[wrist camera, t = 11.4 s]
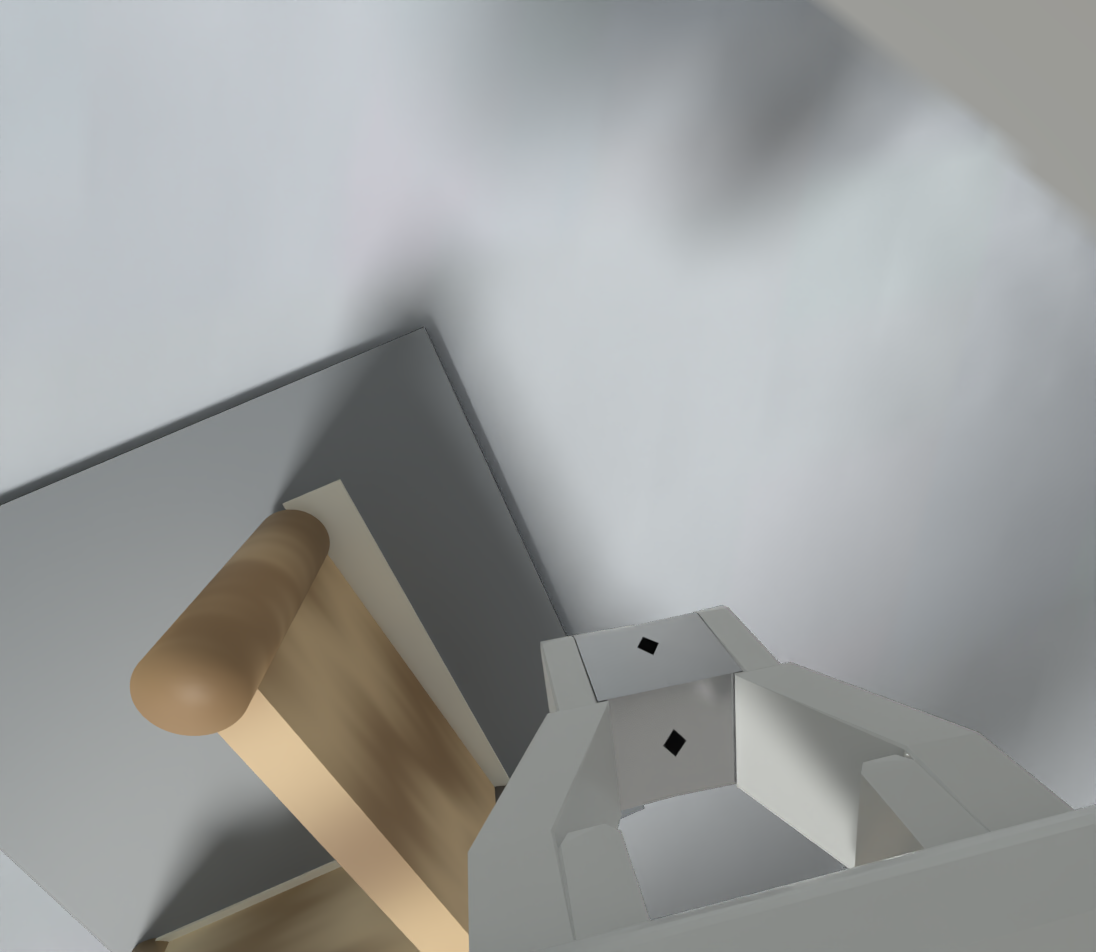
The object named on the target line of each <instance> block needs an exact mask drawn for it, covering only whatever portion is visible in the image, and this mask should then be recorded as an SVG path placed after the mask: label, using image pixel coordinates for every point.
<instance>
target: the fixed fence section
mask: <svg viewBox="0 0 1096 952" xmlns="http://www.w3.org/2000/svg"><path fill="white" fill-rule="evenodd" d="M505 787H506V786H496V787H495V800H496V802H497V800H498V799H499V797H500V795H501V793H502V792H503V790H504V788H505ZM155 940H156V938H153V939H149V940H146V941H143V942H141V943H140V944H138V945H137V946H136V947H135V948H134V949H133V950H132V952H420V951H419V950H418V948H417V947H416V946H415V945H414V944H413V943H412V942H411V941H410V940H409V939H408V938H407V937H406V936H405V934H404V933H403V932H402V931H401V930H400V929H399V928H398V927H397V926H396V925H395V924H394V923H393V922H392V920H391V919H390V918H389V917H388V916H387V915H386V914H385V913H384V912H383V911H382V910H381V909H380V907H379V906H378V905H377V904H376V903H375V902H374V901H373V900H372V899H371V898H370V897H369V896H368V895H367V893H366V892H365V891H364V890H363V889H362V888H361V887H360V886H359V885H358V884H357V883H356V882H355V881H354V879H353V878H352V877H351V876H350V875H349V874H348V873H347V872H346V871H345V870H344V869H343V868H342V867H339V868H337V869H335V870H332V871H330V872H328V873H325V874H323V875H321V876H319V877H316V878H314V879H312V880H309V881H307V882H305V883H303V884H300V885H298V886H296V887H293V888H291V889H289V890H286V891H284V892H282V893H280V894H277V895H275V896H273V897H270V898H268V899H266V900H264V901H261V902H259V903H257V904H254V905H252V906H250V907H248V908H245V909H243V910H241V911H238V912H236V913H234V914H232V915H229V916H227V917H225V918H222V919H220V920H218V921H216V922H213V923H211V924H209V925H206V926H204V927H202V928H200V929H197V930H195V931H193V932H190V933H188V934H186V935H184V936H181V937H179V938H177V939H174V940H172V941H170V942H168V941H155Z"/></svg>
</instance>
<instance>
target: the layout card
mask: <svg viewBox="0 0 1096 952" xmlns="http://www.w3.org/2000/svg"><path fill="white" fill-rule="evenodd" d="M282 510H300V511H304V512H307V513H309V514H311V515H313V516H314V517H316V518H317V519H318V520H319V521H320V522H321V523H322V524H323V525H324V526H325V528H326V530H327V532H328V535H329V539H330V547H329V551H328V555H329V557H330V558H331V560H332V561H333V562H334V564H335V565H336V567H337V568H338V569H339V571H340V572H341V573H342V575H343V576H344V578H345V579H346V580H347V582H348V583H349V585H350V586H351V587H352V589H353V590H354V592H355V593H356V594H357V596H358V597H359V599H360V600H361V601H362V603H363V604H364V606H365V607H366V608H367V610H368V611H369V613H370V614H371V615H372V617H373V618H374V620H375V621H376V622H377V624H378V625H379V627H380V628H381V629H382V631H383V632H384V633H385V635H386V636H387V638H388V639H389V640H390V642H391V643H392V645H393V646H394V647H395V649H396V650H397V652H398V653H399V654H400V656H401V657H402V659H403V660H404V661H405V663H406V664H407V666H408V667H409V668H410V670H411V671H412V673H413V674H414V675H415V677H416V678H417V680H418V681H419V682H420V684H421V685H422V687H423V688H424V689H425V691H426V692H427V694H428V695H429V696H430V698H431V699H432V700H433V702H434V703H435V705H436V706H437V707H438V709H439V710H440V712H441V713H442V714H443V716H444V717H445V719H446V720H447V721H448V723H449V724H450V726H451V727H452V728H453V730H454V731H455V733H456V734H457V735H458V737H459V738H460V740H461V741H462V742H463V744H464V745H465V747H466V748H467V749H468V751H469V752H470V754H471V755H472V756H473V758H474V759H475V761H476V762H477V763H478V765H479V766H480V767H481V769H482V770H483V772H484V773H485V774H486V776H487V777H488V779H489V780H490V781H491V783H492V784H493V786H494V787H496V786H506V785H507V783H508V781H509V780H510V778H511V776H512V774H513V773H514V771H515V769H516V767H517V766H518V764H519V762H520V760H521V759H522V757H523V755H524V753H525V752H526V750H527V748H528V746H529V745H530V743H531V741H532V739H533V738H534V736H535V734H536V732H537V731H538V729H539V727H540V726H541V724H542V722H543V720H544V719H545V717H546V715H547V714H548V713H550V712H549V706H548V699H547V692H546V685H545V678H544V671H543V664H542V657H541V650H540V642H541V641H546V640H551V639H556V638H561V637H566V634H565V632H564V630H563V628H562V625H561V623H560V621H559V619H558V617H557V614H556V612H555V610H554V608H553V606H552V604H551V601H550V599H549V597H548V595H547V593H546V590H545V588H544V586H543V584H542V582H541V580H540V577H539V575H538V573H537V571H536V569H535V566H534V564H533V562H532V560H531V558H530V556H529V553H528V551H527V549H526V547H525V545H524V542H523V540H522V538H521V536H520V534H519V532H518V529H517V527H516V525H515V523H514V521H513V518H512V516H511V514H510V512H509V510H508V508H507V505H506V503H505V501H504V499H503V497H502V494H501V492H500V490H499V488H498V486H497V484H496V481H495V479H494V477H493V475H492V473H491V470H490V468H489V466H488V464H487V462H486V460H485V457H484V455H483V453H482V451H481V449H480V446H479V444H478V442H477V440H476V438H475V436H474V433H473V431H472V429H471V427H470V425H469V422H468V420H467V418H466V416H465V414H464V412H463V409H462V407H461V405H460V403H459V401H458V398H457V396H456V394H455V392H454V390H453V388H452V385H451V383H450V381H449V379H448V377H447V374H446V372H445V370H444V368H443V366H442V364H441V361H440V359H439V357H438V355H437V353H436V350H435V348H434V346H433V344H432V342H431V340H430V337H429V335H428V333H427V331H426V329H425V327H423V328H421V329H418V330H416V331H414V332H411V333H409V334H406V335H404V336H402V337H399V338H397V339H395V340H392V341H390V342H387V343H385V344H383V345H380V346H378V347H376V348H373V349H371V350H368V351H366V352H364V353H361V354H359V355H357V356H354V357H352V358H349V359H347V360H345V361H342V362H340V363H337V364H335V365H333V366H330V367H328V368H326V369H323V370H321V371H318V372H316V373H314V374H311V375H309V376H307V377H304V378H302V379H299V380H297V381H295V382H292V383H290V384H288V385H285V386H283V387H280V388H278V389H276V390H273V391H271V392H269V393H266V394H264V395H261V396H259V397H257V398H254V399H252V400H250V401H247V402H245V403H242V404H240V405H238V406H235V407H233V408H231V409H228V410H226V411H223V412H221V413H219V414H216V415H214V416H212V417H209V418H207V419H204V420H202V421H200V422H197V423H195V424H192V425H190V426H188V427H185V428H183V429H181V430H178V431H176V432H173V433H171V434H169V435H166V436H164V437H162V438H159V439H157V440H154V441H152V442H150V443H147V444H145V445H143V446H140V447H138V448H135V449H133V450H131V451H128V452H126V453H124V454H121V455H119V456H116V457H114V458H112V459H109V460H107V461H105V462H102V463H100V464H97V465H95V466H93V467H90V468H88V469H86V470H83V471H81V472H78V473H76V474H74V475H71V476H69V477H67V478H64V479H62V480H59V481H57V482H55V483H52V484H50V485H47V486H45V487H43V488H40V489H38V490H36V491H33V492H31V493H28V494H26V495H24V496H21V497H19V498H17V499H14V500H12V501H9V502H7V503H5V504H2V505H0V850H1V851H2V852H3V853H4V854H5V855H7V856H8V857H9V858H10V859H11V860H12V861H13V862H14V863H15V864H16V865H17V866H18V867H20V868H21V869H22V870H23V871H24V872H25V873H26V874H27V875H28V876H29V877H30V878H31V879H32V880H34V881H35V882H36V883H37V884H38V885H39V886H40V887H41V888H42V889H43V890H44V891H45V892H47V893H48V894H49V895H50V896H51V897H52V898H53V899H54V900H55V901H56V902H57V903H58V904H60V905H61V906H62V907H63V908H64V909H65V910H66V911H67V912H68V913H69V914H70V915H71V916H72V917H74V918H75V919H76V920H77V921H78V922H79V923H80V924H81V925H82V926H83V927H84V928H85V929H87V930H88V931H89V932H90V933H91V934H92V935H93V936H94V937H95V938H96V939H97V940H98V941H99V942H101V943H102V944H103V945H104V946H105V947H106V948H107V949H108V950H109V951H110V952H132V950H133V949H134V948H135V947H136V946H137V945H138V944H140V943H141V942H143V941H146V940H149V939H153V938H156V940H155V941H168V942H170V941H172V940H174V939H177V938H179V937H181V936H184V935H186V934H188V933H190V932H193V931H195V930H197V929H200V928H202V927H204V926H206V925H209V924H211V923H213V922H216V921H218V920H220V919H222V918H225V917H227V916H229V915H232V914H234V913H236V912H238V911H241V910H243V909H245V908H248V907H250V906H252V905H254V904H257V903H259V902H261V901H264V900H266V899H268V898H270V897H273V896H275V895H277V894H280V893H282V892H284V891H286V890H289V889H291V888H293V887H296V886H298V885H300V884H303V883H305V882H307V881H309V880H312V879H314V878H316V877H319V876H321V875H323V874H325V873H328V872H330V871H332V870H335V869H337V868H339V867H341V865H340V864H339V863H338V862H337V861H336V860H335V859H334V858H333V857H332V856H331V855H330V854H329V852H328V851H327V850H326V849H325V848H324V847H323V846H322V845H321V844H320V843H319V842H318V841H317V840H316V838H315V837H314V836H313V835H312V834H311V833H310V832H309V831H308V830H307V829H306V828H305V827H304V826H303V824H302V823H301V822H300V821H299V820H298V819H297V818H296V817H295V816H294V815H293V814H292V813H291V811H290V810H289V809H288V808H287V807H286V806H285V805H284V804H283V803H282V802H281V801H280V800H279V799H278V797H277V796H276V795H275V794H274V793H273V792H272V791H271V790H270V789H269V788H268V787H267V786H266V785H265V783H264V782H263V781H262V780H261V779H260V778H259V777H258V776H257V775H256V774H255V773H254V772H253V771H252V769H251V768H250V767H249V766H248V765H247V764H246V763H245V762H244V761H243V760H242V759H241V758H240V756H239V755H238V754H237V753H236V752H235V751H234V750H233V749H232V748H231V747H230V746H229V745H228V744H227V742H226V741H225V740H224V739H223V738H222V737H221V736H220V735H219V734H218V733H214V734H209V735H202V736H186V735H179V734H174V733H171V732H168V731H165V730H163V729H161V728H159V727H157V726H155V725H153V724H152V723H151V722H149V721H148V720H147V719H146V718H144V717H143V716H142V715H141V713H140V712H139V711H138V710H137V708H136V707H135V705H134V703H133V701H132V698H131V694H130V679H131V675H132V673H133V671H134V669H135V667H136V666H137V664H138V663H139V662H140V661H141V659H142V658H143V657H144V656H145V655H146V654H147V653H148V651H149V650H150V649H151V648H152V647H153V646H154V645H155V644H156V642H157V641H158V640H159V639H160V638H161V637H162V636H163V634H164V633H165V632H166V631H167V630H168V629H169V628H170V627H171V625H172V624H173V623H174V622H175V621H176V620H177V619H178V617H179V616H180V615H181V614H182V613H183V612H184V611H185V610H186V608H187V607H188V606H189V605H190V604H191V603H192V602H193V600H194V599H195V598H196V597H197V596H198V595H199V594H200V593H201V591H202V590H203V589H204V588H205V587H206V586H207V585H208V583H209V582H210V581H211V580H212V579H213V578H214V577H215V576H216V574H217V573H218V572H219V571H220V570H221V569H222V568H223V566H224V565H225V564H226V563H227V562H228V561H229V560H230V559H231V557H232V556H233V555H234V554H235V553H236V552H237V551H238V549H239V548H240V547H241V546H242V545H243V544H244V543H245V542H246V540H247V539H248V538H249V537H250V536H251V535H252V534H253V532H254V531H255V530H256V529H257V528H258V527H259V526H260V525H261V523H262V522H263V521H264V520H265V519H266V518H267V517H269V516H270V515H272V514H273V513H276V512H278V511H282ZM642 809H644V805H641V806H637V807H633V808H630V809H626V810H622V811H621V818H624V817H626V816H628V815H631V814H633V813H635V812H637V811H640V810H642ZM621 818H620V819H621Z"/></svg>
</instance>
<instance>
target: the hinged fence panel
mask: <svg viewBox="0 0 1096 952" xmlns="http://www.w3.org/2000/svg"><path fill="white" fill-rule="evenodd" d="M329 547H330V539H329V535H328V532H327V530H326V528H325V526H324V525H323V524H322V523H321V522H320V521H319V520H318V519H317V518H316V517H314V516H313V515H311V514H309V513H307V512H304V511H300V510H282V511H278V512H276V513H273V514H272V515H270V516H269V517H267V518H266V519H265V520H264V521H263V522H262V523H261V525H260V526H259V527H258V528H257V529H256V530H255V531H254V532H253V534H252V535H251V536H250V537H249V538H248V539H247V540H246V542H245V543H244V544H243V545H242V546H241V547H240V548H239V549H238V551H237V552H236V553H235V554H234V555H233V556H232V557H231V559H230V560H229V561H228V562H227V563H226V564H225V565H224V566H223V568H222V569H221V570H220V571H219V572H218V573H217V574H216V576H215V577H214V578H213V579H212V580H211V581H210V582H209V583H208V585H207V586H206V587H205V588H204V589H203V590H202V591H201V593H200V594H199V595H198V596H197V597H196V598H195V599H194V600H193V602H192V603H191V604H190V605H189V606H188V607H187V608H186V610H185V611H184V612H183V613H182V614H181V615H180V616H179V617H178V619H177V620H176V621H175V622H174V623H173V624H172V625H171V627H170V628H169V629H168V630H167V631H166V632H165V633H164V634H163V636H162V637H161V638H160V639H159V640H158V641H157V642H156V644H155V645H154V646H153V647H152V648H151V649H150V650H149V651H148V653H147V654H146V655H145V656H144V657H143V658H142V659H141V661H140V662H139V663H138V664H137V666H136V667H135V669H134V671H133V673H132V675H131V679H130V694H131V698H132V701H133V703H134V705H135V707H136V708H137V710H138V711H139V712H140V713H141V715H142V716H143V717H144V718H146V719H147V720H148V721H149V722H151V723H152V724H153V725H155V726H157V727H159V728H161V729H163V730H165V731H168V732H171V733H174V734H179V735H186V736H202V735H209V734H214V733H218V734H219V735H220V736H221V737H222V738H223V739H224V740H225V741H226V742H227V744H228V745H229V746H230V747H231V748H232V749H233V750H234V751H235V752H236V753H237V754H238V755H239V756H240V758H241V759H242V760H243V761H244V762H245V763H246V764H247V765H248V766H249V767H250V768H251V769H252V771H253V772H254V773H255V774H256V775H257V776H258V777H259V778H260V779H261V780H262V781H263V782H264V783H265V785H266V786H267V787H268V788H269V789H270V790H271V791H272V792H273V793H274V794H275V795H276V796H277V797H278V799H279V800H280V801H281V802H282V803H283V804H284V805H285V806H286V807H287V808H288V809H289V810H290V811H291V813H292V814H293V815H294V816H295V817H296V818H297V819H298V820H299V821H300V822H301V823H302V824H303V826H304V827H305V828H306V829H307V830H308V831H309V832H310V833H311V834H312V835H313V836H314V837H315V838H316V840H317V841H318V842H319V843H320V844H321V845H322V846H323V847H324V848H325V849H326V850H327V851H328V852H329V854H330V855H331V856H332V857H333V858H334V859H335V860H336V861H337V862H338V863H339V864H340V865H341V867H342V868H343V869H344V870H345V871H346V872H347V873H348V874H349V875H350V876H351V877H352V878H353V879H354V881H355V882H356V883H357V884H358V885H359V886H360V887H361V888H362V889H363V890H364V891H365V892H366V893H367V895H368V896H369V897H370V898H371V899H372V900H373V901H374V902H375V903H376V904H377V905H378V906H379V907H380V909H381V910H382V911H383V912H384V913H385V914H386V915H387V916H388V917H389V918H390V919H391V920H392V922H393V923H394V924H395V925H396V926H397V927H398V928H399V929H400V930H401V931H402V932H403V933H404V934H405V936H406V937H407V938H408V939H409V940H410V941H411V942H412V943H413V944H414V945H415V946H416V947H417V948H418V950H419V951H420V952H469V913H468V851H469V849H470V848H471V846H472V844H473V842H474V841H475V839H476V837H477V835H478V834H479V832H480V830H481V828H482V827H483V825H484V823H485V821H486V820H487V818H488V816H489V814H490V813H491V811H492V809H493V807H494V806H495V804H496V800H495V787H494V786H493V784H492V783H491V781H490V780H489V779H488V777H487V776H486V774H485V773H484V772H483V770H482V769H481V767H480V766H479V765H478V763H477V762H476V761H475V759H474V758H473V756H472V755H471V754H470V752H469V751H468V749H467V748H466V747H465V745H464V744H463V742H462V741H461V740H460V738H459V737H458V735H457V734H456V733H455V731H454V730H453V728H452V727H451V726H450V724H449V723H448V721H447V720H446V719H445V717H444V716H443V714H442V713H441V712H440V710H439V709H438V707H437V706H436V705H435V703H434V702H433V700H432V699H431V698H430V696H429V695H428V694H427V692H426V691H425V689H424V688H423V687H422V685H421V684H420V682H419V681H418V680H417V678H416V677H415V675H414V674H413V673H412V671H411V670H410V668H409V667H408V666H407V664H406V663H405V661H404V660H403V659H402V657H401V656H400V654H399V653H398V652H397V650H396V649H395V647H394V646H393V645H392V643H391V642H390V640H389V639H388V638H387V636H386V635H385V633H384V632H383V631H382V629H381V628H380V627H379V625H378V624H377V622H376V621H375V620H374V618H373V617H372V615H371V614H370V613H369V611H368V610H367V608H366V607H365V606H364V604H363V603H362V601H361V600H360V599H359V597H358V596H357V594H356V593H355V592H354V590H353V589H352V587H351V586H350V585H349V583H348V582H347V580H346V579H345V578H344V576H343V575H342V573H341V572H340V571H339V569H338V568H337V567H336V565H335V564H334V562H333V561H332V560H331V558H330V557H329V555H328V551H329Z"/></svg>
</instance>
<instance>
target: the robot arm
mask: <svg viewBox="0 0 1096 952" xmlns="http://www.w3.org/2000/svg"><path fill="white" fill-rule="evenodd" d="M540 650H541V657H542V664H543V671H544V678H545V685H546V692H547V699H548V706H549V712H550V713H548V714H547V715H546V717H545V719H544V720H543V722H542V724H541V726H540V727H539V729H538V731H537V732H536V734H535V736H534V738H533V739H532V741H531V743H530V745H529V746H528V748H527V750H526V752H525V753H524V755H523V757H522V759H521V760H520V762H519V764H518V766H517V767H516V769H515V771H514V773H513V774H512V776H511V778H510V780H509V781H508V783H507V785H506V787H505V788H504V790H503V792H502V793H501V795H500V797H499V799H498V800H497V802H496V804H495V806H494V807H493V809H492V811H491V813H490V814H489V816H488V818H487V820H486V821H485V823H484V825H483V827H482V828H481V830H480V832H479V834H478V835H477V837H476V839H475V841H474V842H473V844H472V846H471V848H470V849H469V851H468V913H469V952H1096V804H1095V805H1091V806H1088V807H1084V808H1080V809H1076V810H1074V809H1073V808H1072V807H1070V806H1069V805H1068V804H1067V803H1065V802H1064V801H1063V800H1062V799H1061V798H1059V797H1058V796H1057V795H1056V794H1054V793H1053V792H1052V791H1051V790H1049V789H1048V788H1047V787H1046V786H1045V785H1043V784H1042V783H1041V782H1040V781H1038V780H1037V779H1036V778H1035V777H1033V776H1032V775H1031V774H1030V773H1029V772H1027V771H1026V770H1025V769H1024V768H1022V767H1021V766H1020V765H1019V764H1017V763H1016V762H1015V761H1014V760H1013V759H1011V758H1010V757H1009V756H1008V755H1006V754H1005V753H1004V752H1003V751H1001V750H1000V749H999V748H998V747H997V746H995V745H994V744H993V743H992V742H990V741H989V740H988V739H987V738H985V737H984V736H983V735H982V734H981V733H979V732H977V731H974V730H971V729H969V728H966V727H963V726H961V725H958V724H955V723H953V722H950V721H947V720H945V719H942V718H939V717H937V716H934V715H931V714H929V713H926V712H923V711H921V710H918V709H915V708H912V707H910V706H907V705H904V704H902V703H899V702H896V701H894V700H891V699H888V698H886V697H883V696H880V695H878V694H875V693H872V692H870V691H867V690H864V689H862V688H859V687H856V686H854V685H851V684H848V683H845V682H843V681H840V680H837V679H835V678H832V677H829V676H827V675H824V674H821V673H819V672H816V671H813V670H811V669H808V668H805V667H803V666H800V665H797V664H795V663H792V662H787V663H783V664H780V662H779V661H778V660H777V659H776V658H775V657H774V656H773V655H772V654H771V653H770V652H769V651H768V650H767V648H766V647H765V646H764V645H763V644H762V643H761V642H760V641H759V640H758V639H757V638H756V637H755V636H754V634H753V633H752V632H751V631H750V630H749V629H748V628H747V627H746V626H745V625H744V624H743V623H742V622H741V621H740V619H739V618H738V617H737V616H736V615H735V614H734V613H733V612H732V611H731V610H730V609H729V608H728V607H726V606H723V605H721V606H716V607H712V608H708V609H704V610H699V611H695V612H693V613H689V614H684V615H680V616H675V617H670V618H666V619H661V620H657V621H652V622H647V623H643V624H638V625H628V626H623V627H617V628H611V629H606V630H600V631H594V632H589V633H583V634H577V635H573V636H566V637H561V638H556V639H551V640H546V641H541V642H540ZM732 784H737V787H738V788H739V789H741V790H742V791H744V792H745V793H746V794H748V795H749V796H750V797H752V798H753V799H754V800H756V801H757V802H759V803H760V804H761V805H763V806H764V807H765V808H767V809H768V810H769V811H771V812H772V813H774V814H775V815H776V816H778V817H779V818H780V819H782V820H783V821H785V822H786V823H787V824H789V825H790V826H791V827H793V828H794V829H795V830H797V831H798V832H800V833H801V834H802V835H804V836H805V837H806V838H808V839H809V840H810V841H812V842H813V843H815V844H816V845H817V846H819V847H820V848H821V849H823V850H824V851H825V852H827V853H828V854H830V855H831V856H832V857H834V858H835V859H836V860H838V861H839V862H841V863H842V864H843V865H845V866H846V867H847V868H849V869H845V870H841V871H838V872H834V873H830V874H826V875H822V876H818V877H815V878H811V879H807V880H803V881H799V882H795V883H792V884H788V885H784V886H780V887H776V888H772V889H769V890H765V891H761V892H757V893H753V894H749V895H746V896H742V897H738V898H734V899H730V900H726V901H723V902H719V903H715V904H711V905H707V906H703V907H700V908H696V909H692V910H688V911H684V912H680V913H677V914H673V915H669V916H665V917H661V918H657V919H653V920H650V918H649V915H648V912H647V909H646V906H645V903H644V900H643V897H642V893H641V890H640V887H639V884H638V881H637V878H636V875H635V872H634V869H633V866H632V863H631V860H630V857H629V854H628V851H627V848H626V844H625V841H624V838H623V835H622V832H621V831H620V830H618V826H619V822H620V818H621V811H622V810H626V809H630V808H633V807H637V806H641V805H645V804H648V803H652V802H656V801H659V800H663V799H667V798H671V797H674V796H678V795H683V794H688V793H693V792H698V791H703V790H708V789H713V788H718V787H722V786H727V785H732Z"/></svg>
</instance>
